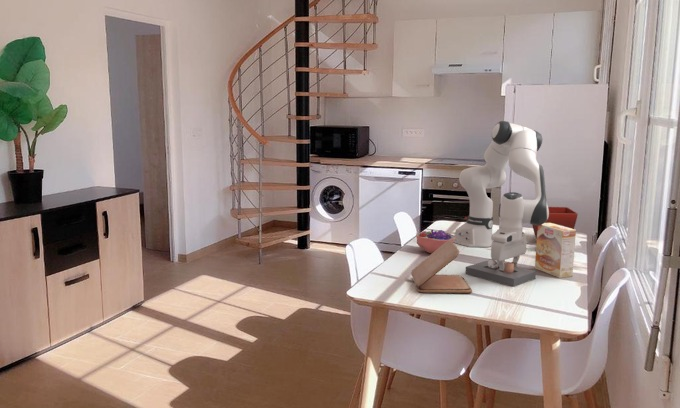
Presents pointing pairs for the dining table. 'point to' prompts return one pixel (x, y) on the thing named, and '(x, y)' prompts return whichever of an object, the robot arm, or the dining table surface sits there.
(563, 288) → the dining table surface
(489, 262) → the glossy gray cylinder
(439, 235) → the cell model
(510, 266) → the tan oval egg shape
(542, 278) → the dining table surface
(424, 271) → the case
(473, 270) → the housing
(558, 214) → the plant pot
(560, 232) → the coffeecake box
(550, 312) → the dining table surface
